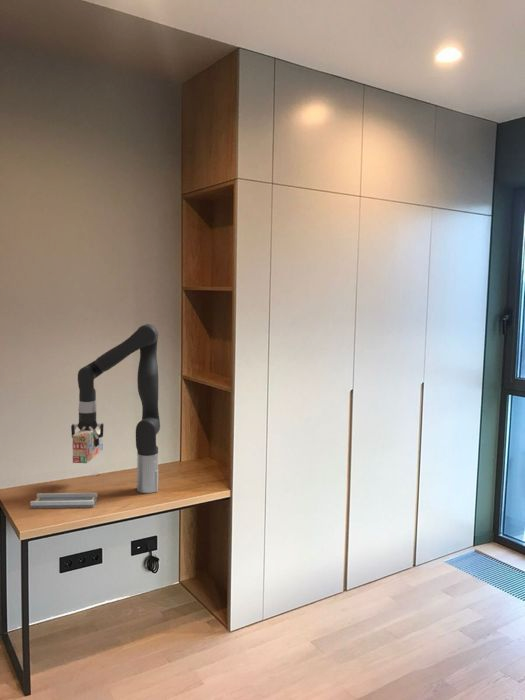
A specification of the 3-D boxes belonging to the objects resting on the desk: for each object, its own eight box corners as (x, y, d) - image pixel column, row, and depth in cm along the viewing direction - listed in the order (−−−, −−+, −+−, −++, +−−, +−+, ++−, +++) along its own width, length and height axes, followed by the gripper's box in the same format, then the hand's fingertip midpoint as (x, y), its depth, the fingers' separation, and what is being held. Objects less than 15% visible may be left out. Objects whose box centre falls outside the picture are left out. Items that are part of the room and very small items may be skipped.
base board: (97, 498, 244) (97, 492, 244) (93, 507, 234) (93, 501, 234) (37, 499, 241) (37, 493, 241) (30, 508, 231) (30, 502, 231)
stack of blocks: (89, 449, 264) (89, 423, 263) (102, 449, 264) (102, 423, 263) (72, 462, 243) (72, 435, 242) (86, 463, 243) (86, 435, 242)
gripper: (104, 408, 256) (104, 444, 258) (71, 409, 253) (71, 445, 255) (103, 412, 249) (103, 448, 251) (69, 412, 246) (69, 449, 247)
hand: (87, 446), depth 253 cm, fingers closed on stack of blocks, 7 cm apart
